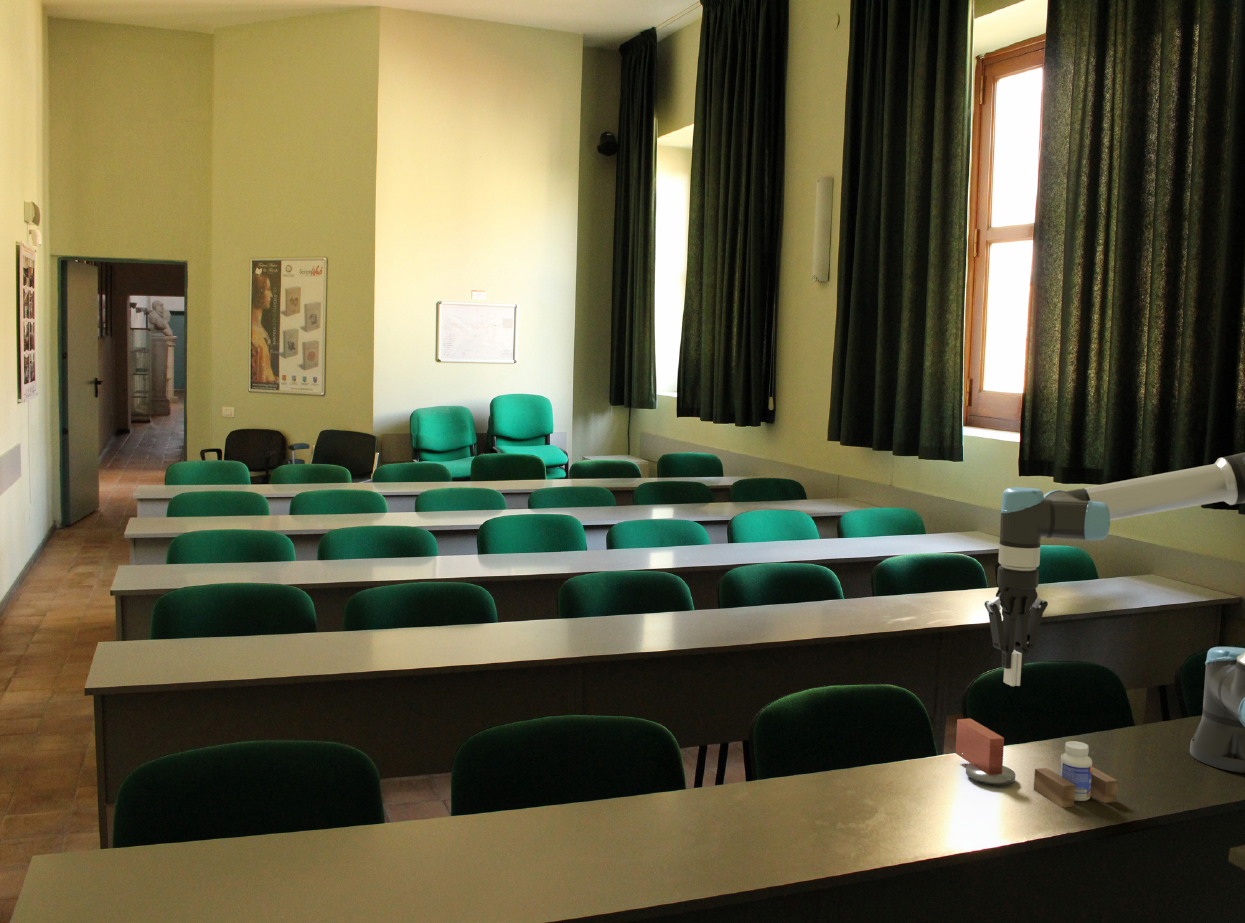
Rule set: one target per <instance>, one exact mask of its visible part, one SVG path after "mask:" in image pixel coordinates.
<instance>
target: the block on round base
mask: <svg viewBox="0 0 1245 923" xmlns="http://www.w3.org/2000/svg"><path fill="white" fill-rule="evenodd" d="M955 738H956V740H955V754H956V755H957V756H959V757H961V758H962V759H963V760H964V761H967V762H968V763H969V764H967V765H966V766H965V774H966V776H967V777H969V778H970V779H972V780H974V781H976V782H980V783H983V784H987V785H993V786H995V785H996V786H999V785H1000V786H1003V785H1010V784H1012V783H1014V782H1015V781H1016V773H1015V771H1014V770H1012V769H1011V768H1010V767H1007V766H1005V765H1003V763H1004V762H1003V761H1004V748H1005V747H1004V745H1005V738H1004V737H1003V736H1002V735H1000V734H998V733H996V732H995V731H993V730H991V729H989V727H986V726H984V725H982V724H981V723H979V722H977V721H975V720H974V719H972V718H960V719H959V718H957V722H956V736H955ZM962 753H963V754H962Z"/></svg>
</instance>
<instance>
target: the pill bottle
mask: <svg viewBox="0 0 1245 923" xmlns="http://www.w3.org/2000/svg"><path fill="white" fill-rule="evenodd" d="M1064 745H1065V746H1064V751H1065V752H1064V753H1062V754H1061V756H1060V763H1059V764H1060V766H1059V776H1061V777H1063V778H1065V779H1066V780H1068V781H1070V782H1071V783H1073V784H1075V799H1074V802H1075V801H1076V802H1085V801H1088V800H1090V799H1091V796H1092V795H1091V778H1092V767H1093V759H1092V758H1091V757H1090V756H1088V755H1089V748H1090V746H1089V744H1086V743H1084V742H1083V741H1082V742H1081V741H1075V740H1071V741H1069V740H1068V741H1066V742H1065V744H1064Z"/></svg>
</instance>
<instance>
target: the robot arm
mask: <svg viewBox="0 0 1245 923" xmlns="http://www.w3.org/2000/svg"><path fill="white" fill-rule="evenodd" d="M1219 502H1225V503H1226V504H1228V505H1229V506H1233V505H1239V504H1245V452H1240V453H1236V454H1233V455H1232V454H1231V455H1228V456H1223V457H1219V458H1217V460H1216V461H1215V462H1214V463H1213V464H1207V465H1202V466H1201V465H1200V466H1196V467H1191V468H1186V469H1185V468H1184V469H1180V470H1174V471H1168V472H1163V473H1158V474H1153V475H1148V476H1143V477H1137V478H1136V477H1135V478H1130V479H1126V480H1120V481H1113V482H1110V483H1104V484H1098V485H1092V486H1087V487H1083V488H1076V489H1070V490H1067V491H1066V490H1060V489H1059V490H1050V491H1048V492H1046V493H1045V494H1044V491H1043V490H1042V489H1040V488H1034V487H1025V486H1023V487H1022V486H1012V487H1011V486H1010V487H1008V488H1005V489H1004V490H1003V492H1002V498H1001V508H1000V521H999V522H1000V526H999V542H998V543H999V546H998V563H999V566H998V567H997V576H996V577H997V578H996V580H997V581H996V582H997V586H998V587H997V591H996V593H995V598H993V599H991V600H990V601H989V600H986V601H984V607H985V609H986V611H987V613H988V618H989V628H990V633H991V634H990V635H991V638H992V639H991V640H992V646H993V648H995V649H998V650H1000V651H1001V664H1000V665H1001V667H1002V668H1003V681H1002V682H1003V683H1005V684H1006V685H1007V686H1008V685H1009V686H1010V687H1015V686H1017V687H1020V686H1021V676H1022V675H1021V674H1022V668H1024V667H1025V654H1028V653H1029V652H1030V650H1033V649H1035V646H1036V642H1037V639H1038V634H1039V631H1040V628H1041V627H1040V626H1041V623H1042V618H1043V616H1044V612H1045V611H1046V609H1047V608H1048V605H1049V603H1048V601H1046V600H1045V599H1044V600H1043V599H1041V598H1040V597H1039V595H1038V592H1037V588H1038V587H1039V576H1040V570H1039V569H1038V567H1039V566H1040V560H1041V541H1042V538H1044V539H1063V540H1077V541H1079V540H1080V541H1086V542H1089V541H1102V540H1103V541H1104V540H1105V539H1106V538H1107V536H1108V535H1109V532H1110V526H1111V521H1117V520H1123V519H1127V518H1134V517H1139V516H1145V515H1151V514H1156V513H1162V512H1168V511H1174V510H1181V509H1186V508H1192V507H1198V506H1203V505H1209V504H1213V503H1215V504H1216V503H1219ZM1204 664H1205V673H1204V689H1203V700H1202V702H1203V703H1202V716H1201V719H1200V721H1199V723H1198V725H1197V726H1196V727H1197V728H1196V730H1195V732H1194V735H1193V736H1192V738H1191V740H1190V745H1189V753H1190V755H1191V757H1193V758H1194V759H1196V760H1197V761H1199V762H1201V763H1203V764H1206V765H1208V766H1211V767H1214V768H1216V769H1221V770H1225V771H1230V772H1233V773H1241V774H1245V648H1244V647H1235V646H1215V647H1212V648H1209V650H1208V651H1207V654H1206V661H1205V662H1204Z"/></svg>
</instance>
